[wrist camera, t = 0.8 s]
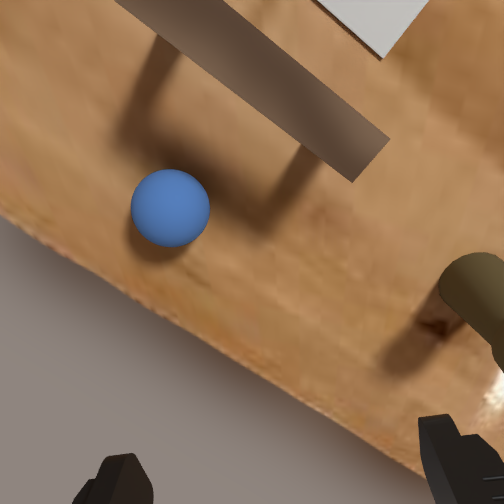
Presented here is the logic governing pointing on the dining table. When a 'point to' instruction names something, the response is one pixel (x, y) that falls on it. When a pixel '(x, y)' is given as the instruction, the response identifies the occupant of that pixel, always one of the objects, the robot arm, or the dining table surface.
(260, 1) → the dining table surface
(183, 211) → the ball
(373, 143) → the bridge
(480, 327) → the olive tall rounded piece
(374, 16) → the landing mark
